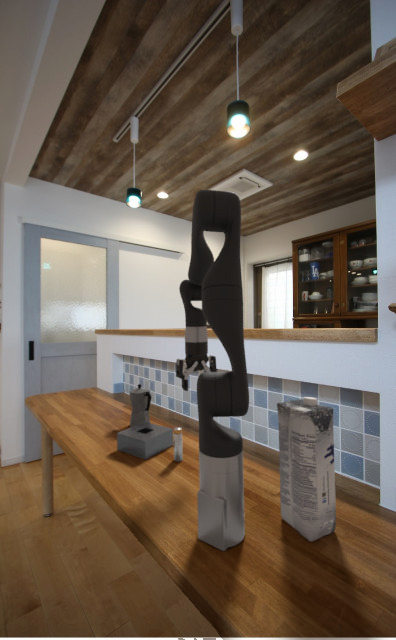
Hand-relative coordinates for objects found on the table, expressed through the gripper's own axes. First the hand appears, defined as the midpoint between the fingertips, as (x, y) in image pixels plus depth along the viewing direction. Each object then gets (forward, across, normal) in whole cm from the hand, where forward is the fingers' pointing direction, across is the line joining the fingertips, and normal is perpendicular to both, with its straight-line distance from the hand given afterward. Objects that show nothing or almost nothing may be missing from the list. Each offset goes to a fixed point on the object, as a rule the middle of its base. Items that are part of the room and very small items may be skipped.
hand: (197, 388), depth 97 cm
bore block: (+23, -13, +15) cm, 31 cm away
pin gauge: (+22, -7, 0) cm, 24 cm away
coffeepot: (+25, -6, +39) cm, 47 cm away
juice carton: (+20, +2, -42) cm, 47 cm away
